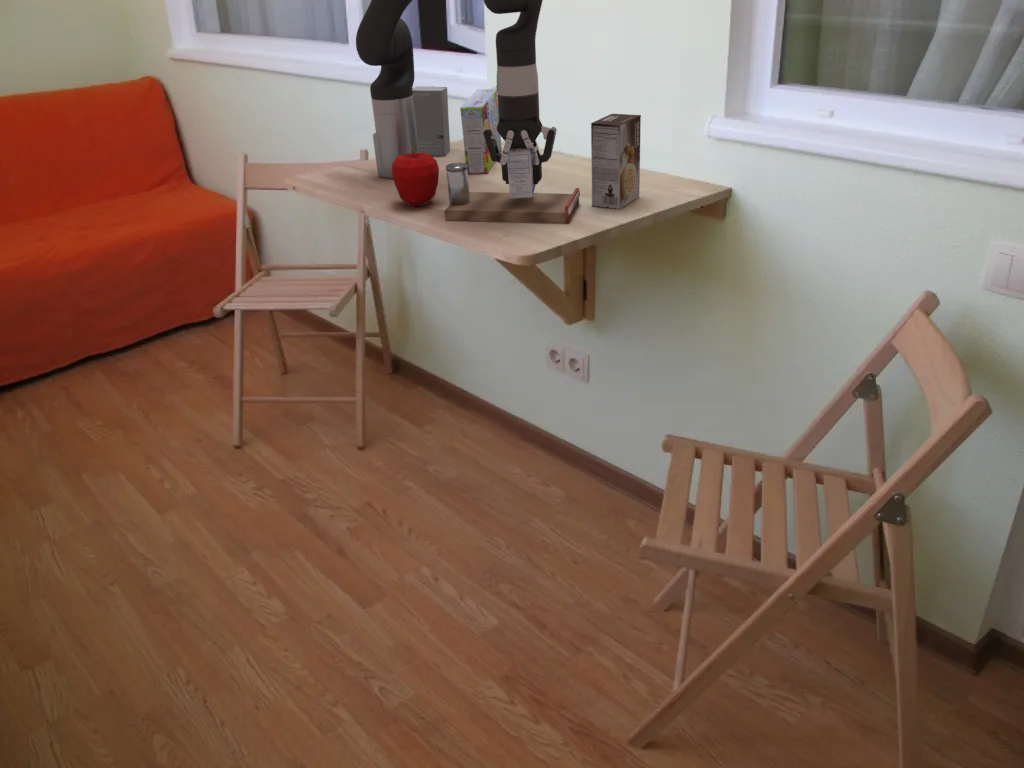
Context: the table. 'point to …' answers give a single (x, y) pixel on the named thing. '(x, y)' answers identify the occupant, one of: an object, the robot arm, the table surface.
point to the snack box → (479, 129)
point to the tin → (458, 183)
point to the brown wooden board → (516, 208)
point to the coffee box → (615, 160)
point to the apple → (415, 177)
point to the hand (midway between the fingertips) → (522, 182)
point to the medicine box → (520, 173)
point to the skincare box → (432, 119)
